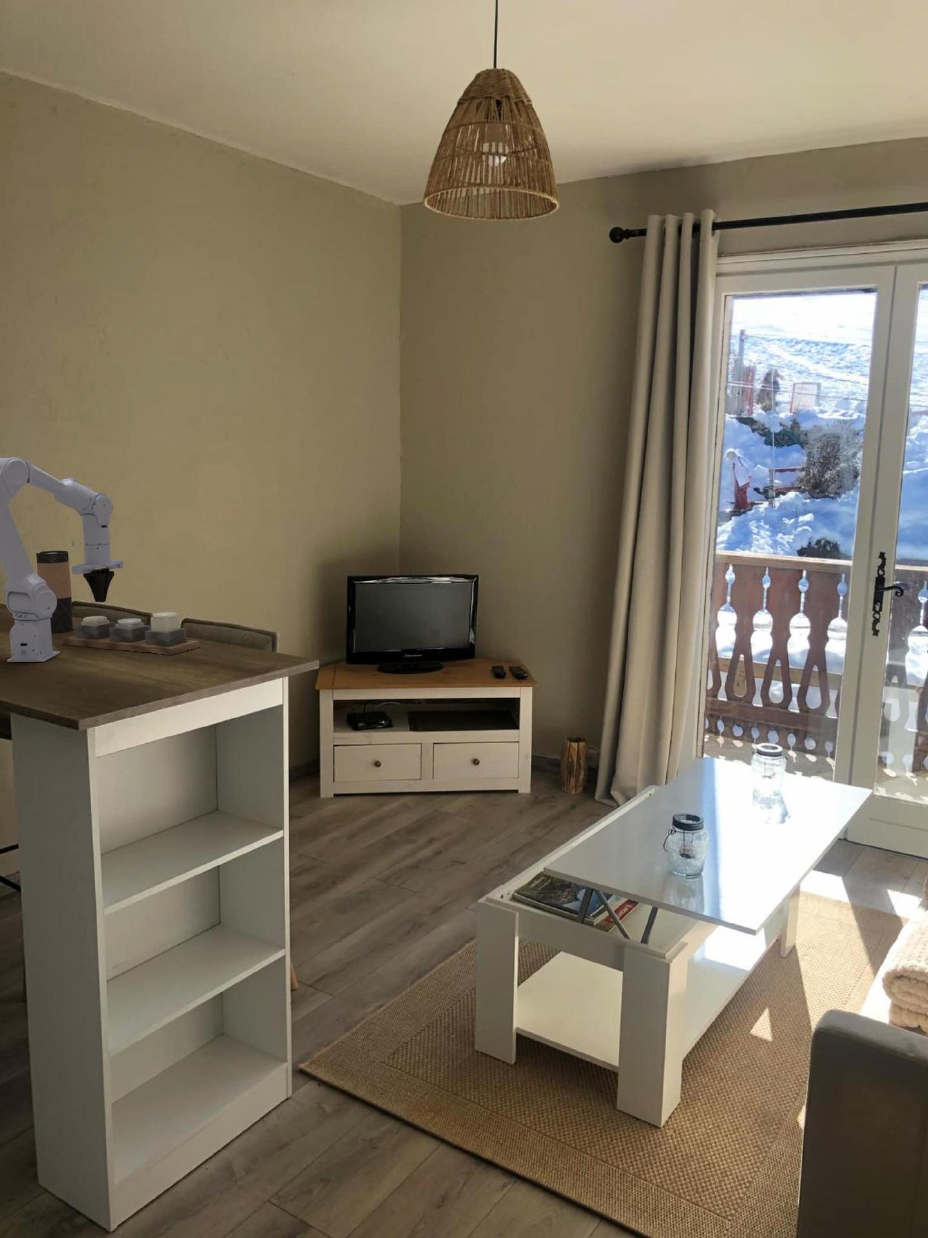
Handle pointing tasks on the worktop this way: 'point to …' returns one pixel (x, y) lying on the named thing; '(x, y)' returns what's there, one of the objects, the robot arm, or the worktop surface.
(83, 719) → the worktop surface
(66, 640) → the knob backing plate
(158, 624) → the knob
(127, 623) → the knob
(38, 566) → the travel mug
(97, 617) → the knob
